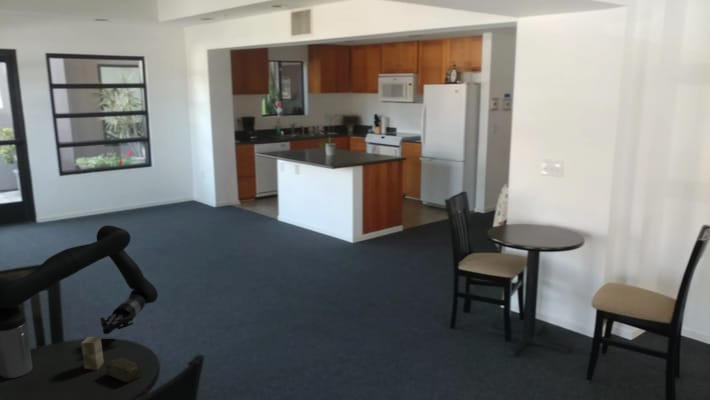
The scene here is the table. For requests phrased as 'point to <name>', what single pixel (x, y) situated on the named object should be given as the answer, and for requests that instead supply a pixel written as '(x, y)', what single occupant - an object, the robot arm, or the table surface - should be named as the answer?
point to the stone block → (123, 369)
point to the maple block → (92, 353)
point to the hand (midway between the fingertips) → (105, 331)
